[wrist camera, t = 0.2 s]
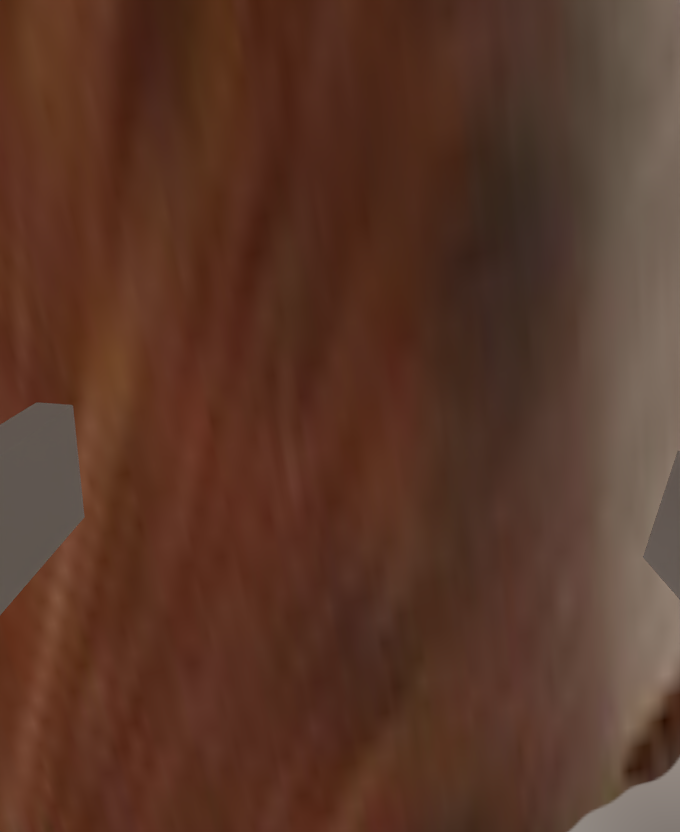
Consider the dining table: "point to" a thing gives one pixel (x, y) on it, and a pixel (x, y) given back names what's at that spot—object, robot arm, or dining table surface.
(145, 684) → the dining table surface
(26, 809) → the dining table surface
